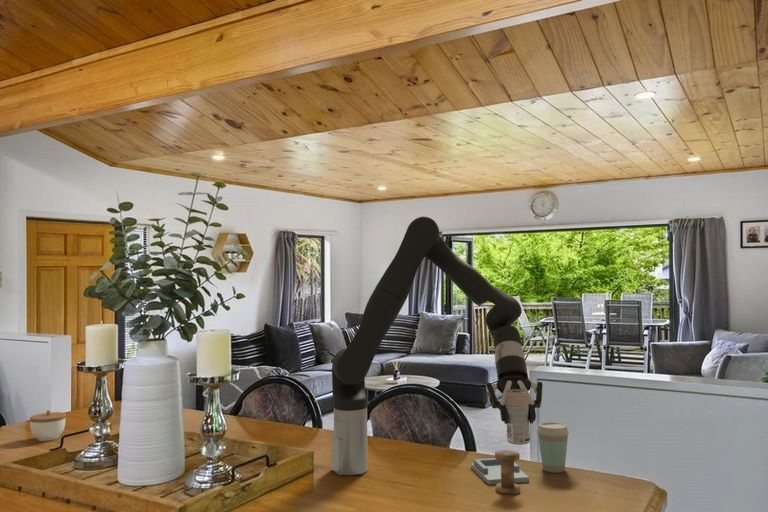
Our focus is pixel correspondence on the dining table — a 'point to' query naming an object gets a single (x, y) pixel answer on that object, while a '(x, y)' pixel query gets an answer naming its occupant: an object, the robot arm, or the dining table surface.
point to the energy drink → (518, 416)
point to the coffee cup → (553, 445)
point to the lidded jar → (47, 425)
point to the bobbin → (507, 472)
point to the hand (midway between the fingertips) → (519, 421)
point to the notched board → (495, 471)
